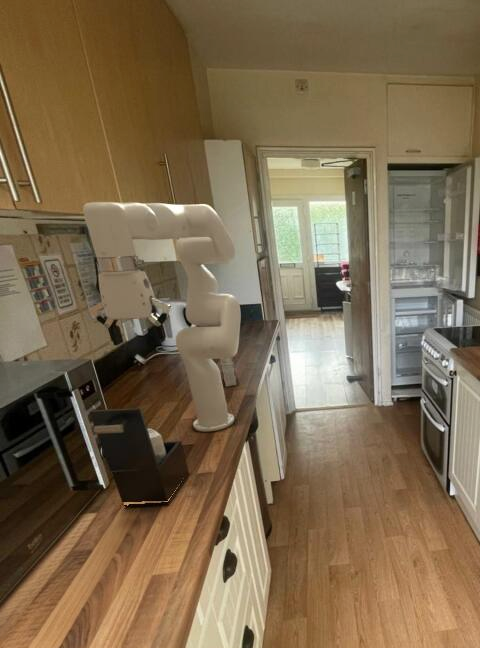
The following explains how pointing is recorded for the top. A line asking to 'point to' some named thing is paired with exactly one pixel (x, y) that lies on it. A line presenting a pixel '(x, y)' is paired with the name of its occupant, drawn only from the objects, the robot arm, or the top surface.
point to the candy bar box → (228, 371)
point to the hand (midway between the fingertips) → (140, 343)
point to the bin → (154, 479)
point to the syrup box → (157, 445)
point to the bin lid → (124, 439)
